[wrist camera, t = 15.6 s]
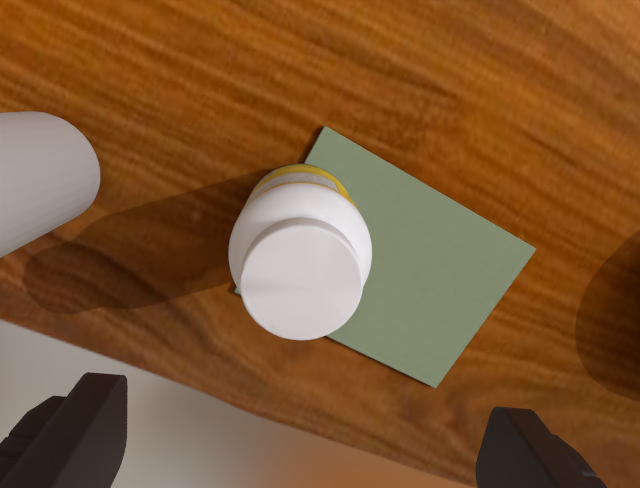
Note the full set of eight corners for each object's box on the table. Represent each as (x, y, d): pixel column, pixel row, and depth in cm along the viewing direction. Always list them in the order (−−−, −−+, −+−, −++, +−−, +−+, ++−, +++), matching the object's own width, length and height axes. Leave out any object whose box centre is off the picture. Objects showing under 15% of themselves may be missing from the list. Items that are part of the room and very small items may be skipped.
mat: (234, 289, 30) (233, 292, 29) (324, 125, 27) (324, 125, 26) (434, 385, 33) (435, 388, 32) (533, 247, 30) (536, 249, 29)
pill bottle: (321, 278, 29) (337, 386, 18) (229, 236, 28) (186, 323, 17) (370, 190, 28) (420, 250, 17) (275, 141, 26) (260, 170, 15)
